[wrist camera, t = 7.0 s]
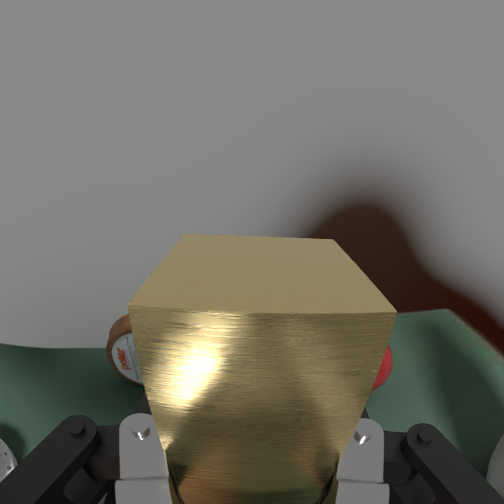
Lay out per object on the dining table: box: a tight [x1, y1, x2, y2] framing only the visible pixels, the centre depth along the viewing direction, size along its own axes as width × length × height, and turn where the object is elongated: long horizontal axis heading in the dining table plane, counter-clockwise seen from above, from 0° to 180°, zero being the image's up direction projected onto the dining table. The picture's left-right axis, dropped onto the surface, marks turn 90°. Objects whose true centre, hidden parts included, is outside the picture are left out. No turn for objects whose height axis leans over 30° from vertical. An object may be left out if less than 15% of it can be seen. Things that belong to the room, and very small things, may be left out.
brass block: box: [128, 234, 397, 504], centre depth 9 cm, size 4×4×14 cm
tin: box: [106, 314, 144, 386], centre depth 28 cm, size 15×3×8 cm, turn 101°
